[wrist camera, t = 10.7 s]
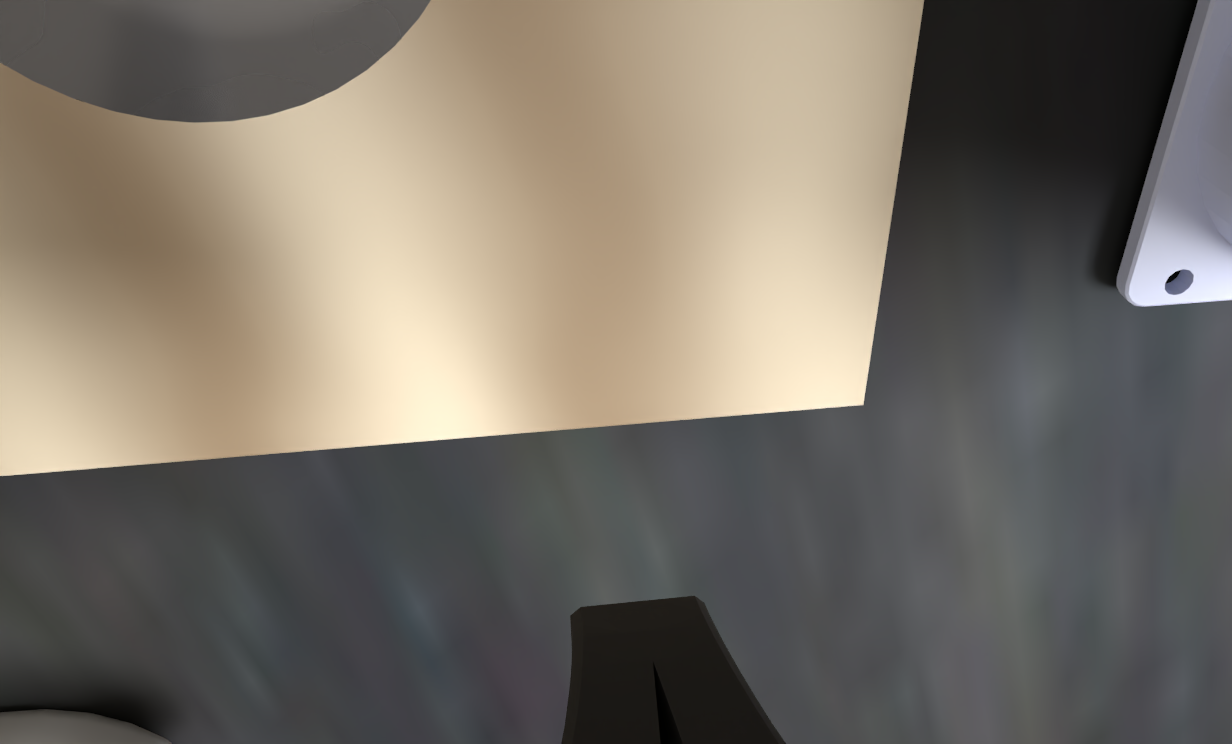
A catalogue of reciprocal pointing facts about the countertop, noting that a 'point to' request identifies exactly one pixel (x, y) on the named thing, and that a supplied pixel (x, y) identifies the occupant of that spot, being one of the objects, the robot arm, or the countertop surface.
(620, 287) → the lock board
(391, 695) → the countertop surface
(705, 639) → the robot arm
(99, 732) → the cup
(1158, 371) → the countertop surface
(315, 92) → the lever
